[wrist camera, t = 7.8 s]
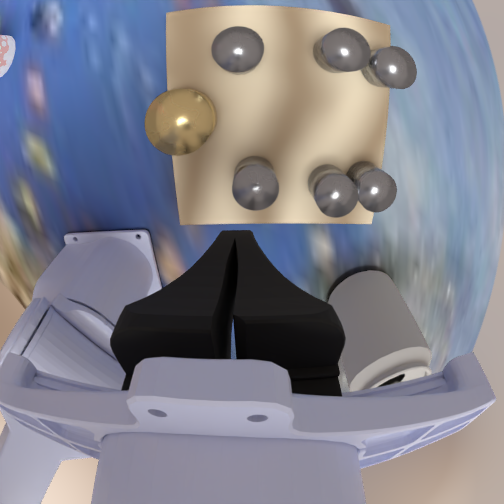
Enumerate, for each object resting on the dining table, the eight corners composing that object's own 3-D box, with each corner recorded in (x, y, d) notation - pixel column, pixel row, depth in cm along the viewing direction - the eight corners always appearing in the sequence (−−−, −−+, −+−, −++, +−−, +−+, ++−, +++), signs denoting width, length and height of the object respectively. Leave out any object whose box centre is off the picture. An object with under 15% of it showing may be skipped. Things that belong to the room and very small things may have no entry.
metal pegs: (221, 200, 21) (218, 218, 19) (216, 30, 14) (211, 20, 11) (380, 203, 21) (396, 219, 19) (396, 49, 14) (416, 46, 12)
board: (181, 221, 23) (180, 224, 22) (168, 14, 13) (166, 13, 13) (368, 220, 23) (371, 224, 22) (386, 26, 13) (390, 25, 13)
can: (361, 252, 25) (414, 355, 15) (403, 283, 27) (451, 372, 17) (310, 303, 28) (334, 408, 18) (356, 326, 30) (385, 415, 20)
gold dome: (159, 150, 19) (148, 158, 17) (154, 92, 16) (142, 93, 14) (218, 145, 19) (214, 153, 17) (216, 86, 16) (211, 85, 14)
